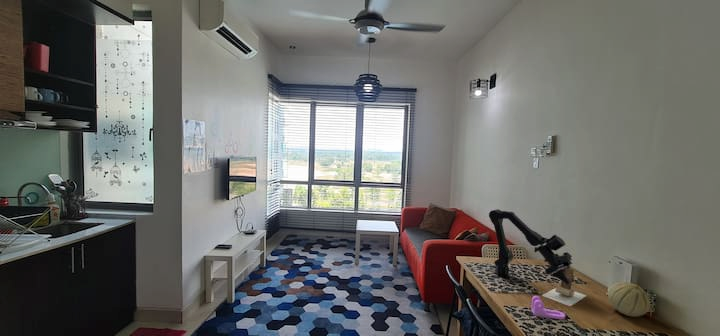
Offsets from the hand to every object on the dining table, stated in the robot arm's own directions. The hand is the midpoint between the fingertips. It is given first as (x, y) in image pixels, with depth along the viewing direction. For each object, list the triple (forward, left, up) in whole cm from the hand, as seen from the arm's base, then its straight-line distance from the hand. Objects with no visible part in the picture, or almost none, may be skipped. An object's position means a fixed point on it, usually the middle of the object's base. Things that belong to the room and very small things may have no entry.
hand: (570, 282), depth 159 cm
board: (-3, 0, -8) cm, 9 cm away
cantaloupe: (+16, -15, -8) cm, 24 cm away
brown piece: (-3, 0, -6) cm, 7 cm away
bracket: (-22, -16, -8) cm, 29 cm away
